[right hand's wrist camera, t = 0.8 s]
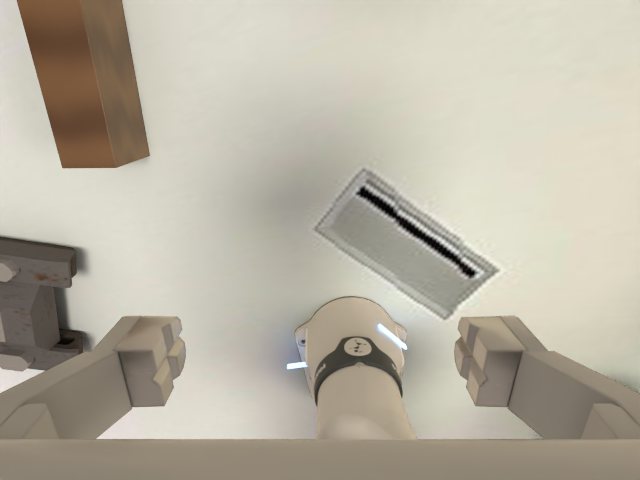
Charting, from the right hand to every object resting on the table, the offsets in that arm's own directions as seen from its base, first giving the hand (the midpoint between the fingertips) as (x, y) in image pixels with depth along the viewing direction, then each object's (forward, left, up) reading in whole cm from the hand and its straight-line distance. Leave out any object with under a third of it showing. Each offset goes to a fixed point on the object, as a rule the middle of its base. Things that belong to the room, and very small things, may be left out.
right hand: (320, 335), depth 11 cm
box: (+12, +27, -42) cm, 52 cm away
